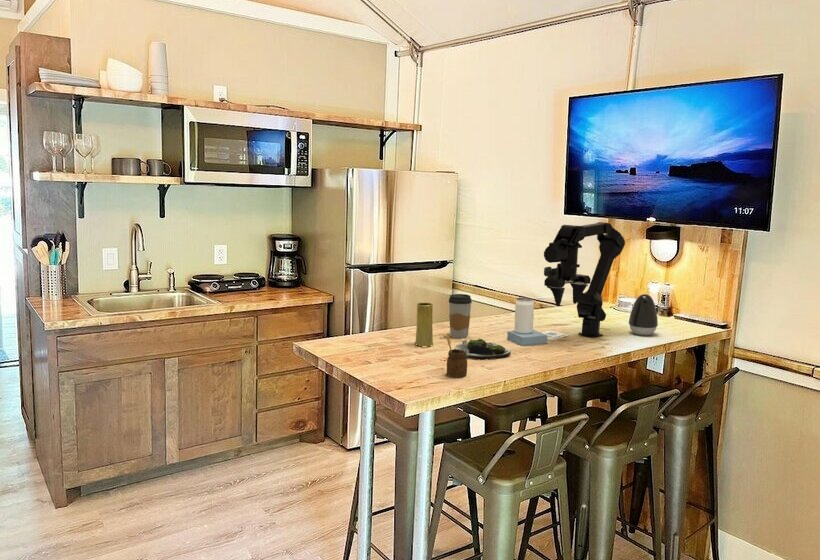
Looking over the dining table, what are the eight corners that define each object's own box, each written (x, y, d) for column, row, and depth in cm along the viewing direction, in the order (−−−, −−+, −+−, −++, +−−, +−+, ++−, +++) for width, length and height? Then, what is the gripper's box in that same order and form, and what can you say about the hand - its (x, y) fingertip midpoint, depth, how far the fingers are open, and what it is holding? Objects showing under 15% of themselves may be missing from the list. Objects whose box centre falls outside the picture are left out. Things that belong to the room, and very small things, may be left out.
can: (517, 334, 225) (519, 300, 223) (511, 330, 232) (513, 297, 230) (535, 334, 226) (536, 300, 224) (529, 329, 233) (530, 297, 231)
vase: (412, 345, 219) (413, 304, 217) (418, 341, 225) (419, 301, 223) (429, 347, 217) (430, 306, 215) (435, 343, 223) (436, 303, 221)
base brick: (530, 337, 234) (531, 329, 234) (547, 343, 225) (547, 335, 225) (507, 339, 231) (507, 331, 230) (522, 346, 221) (522, 337, 221)
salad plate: (442, 347, 219) (442, 334, 219) (489, 343, 226) (489, 330, 225) (466, 362, 201) (467, 348, 201) (516, 358, 208) (517, 344, 207)
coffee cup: (472, 334, 236) (473, 294, 234) (468, 340, 228) (469, 298, 226) (450, 333, 239) (451, 293, 236) (445, 338, 231) (446, 296, 228)
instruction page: (548, 330, 245) (548, 330, 245) (569, 334, 239) (569, 334, 239) (531, 336, 236) (531, 335, 236) (553, 340, 230) (553, 339, 230)
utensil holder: (463, 378, 184) (464, 337, 182) (442, 376, 186) (443, 335, 184) (469, 373, 189) (470, 333, 187) (449, 370, 191) (450, 331, 190)
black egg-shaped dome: (628, 336, 238) (631, 295, 236) (627, 330, 248) (630, 291, 246) (658, 338, 236) (661, 297, 233) (655, 332, 246) (658, 292, 243)
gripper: (567, 257, 237) (565, 298, 240) (533, 260, 226) (531, 303, 228) (592, 260, 229) (589, 303, 231) (558, 263, 217) (556, 309, 220)
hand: (566, 304), depth 228 cm, fingers open, 9 cm apart
